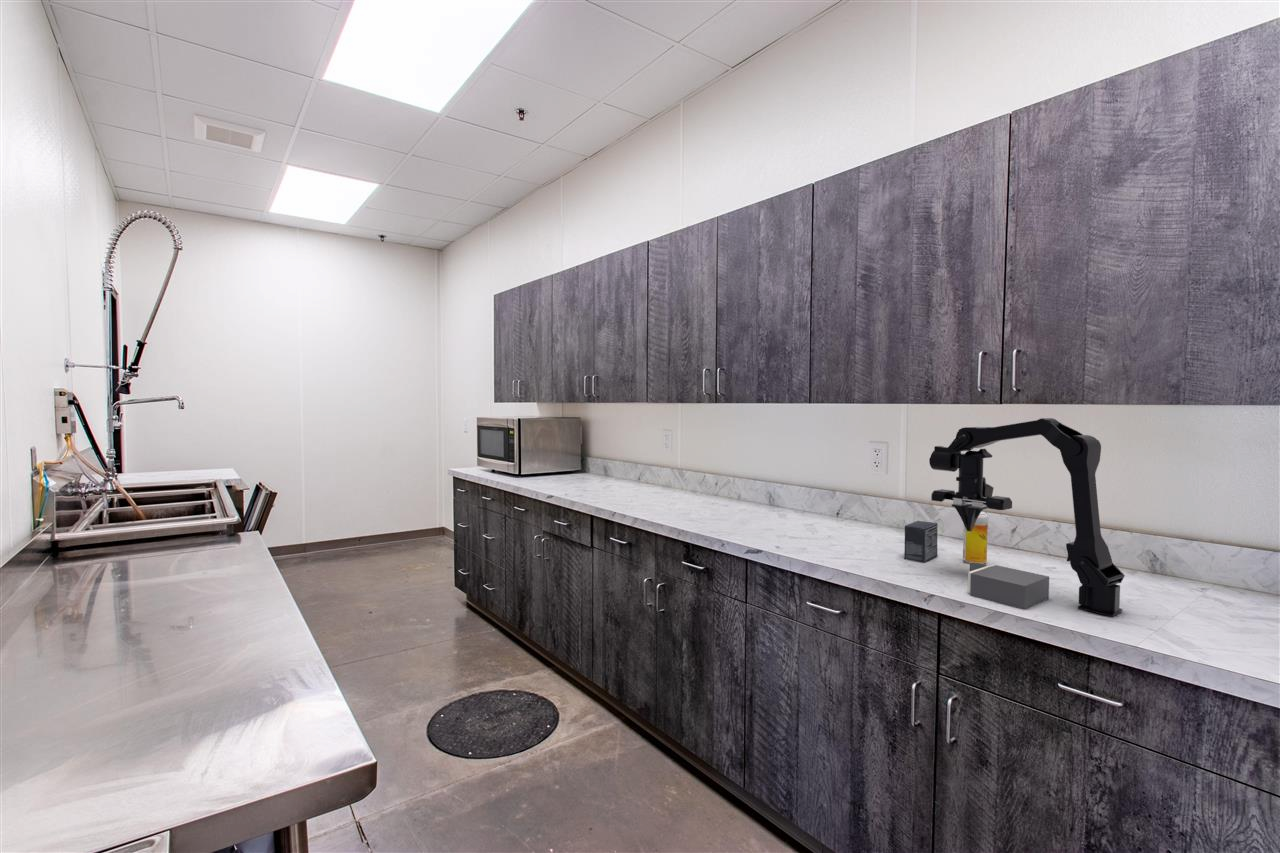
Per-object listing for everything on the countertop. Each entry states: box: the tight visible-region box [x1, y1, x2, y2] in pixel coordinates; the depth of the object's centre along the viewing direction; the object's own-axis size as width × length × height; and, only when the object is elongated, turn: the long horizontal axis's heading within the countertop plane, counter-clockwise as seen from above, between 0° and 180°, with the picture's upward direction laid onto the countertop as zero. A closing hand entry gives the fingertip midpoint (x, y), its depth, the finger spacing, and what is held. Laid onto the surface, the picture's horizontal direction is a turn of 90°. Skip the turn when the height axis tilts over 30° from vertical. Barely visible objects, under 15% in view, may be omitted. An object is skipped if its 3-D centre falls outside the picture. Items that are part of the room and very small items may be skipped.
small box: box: [903, 520, 939, 564], centre depth 178 cm, size 11×6×10 cm, turn 134°
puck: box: [968, 563, 988, 572], centre depth 157 cm, size 4×4×4 cm
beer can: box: [962, 510, 989, 565], centre depth 172 cm, size 6×6×15 cm
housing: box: [969, 564, 1050, 610], centre depth 142 cm, size 12×13×5 cm
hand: (969, 530), depth 158 cm, fingers closed
